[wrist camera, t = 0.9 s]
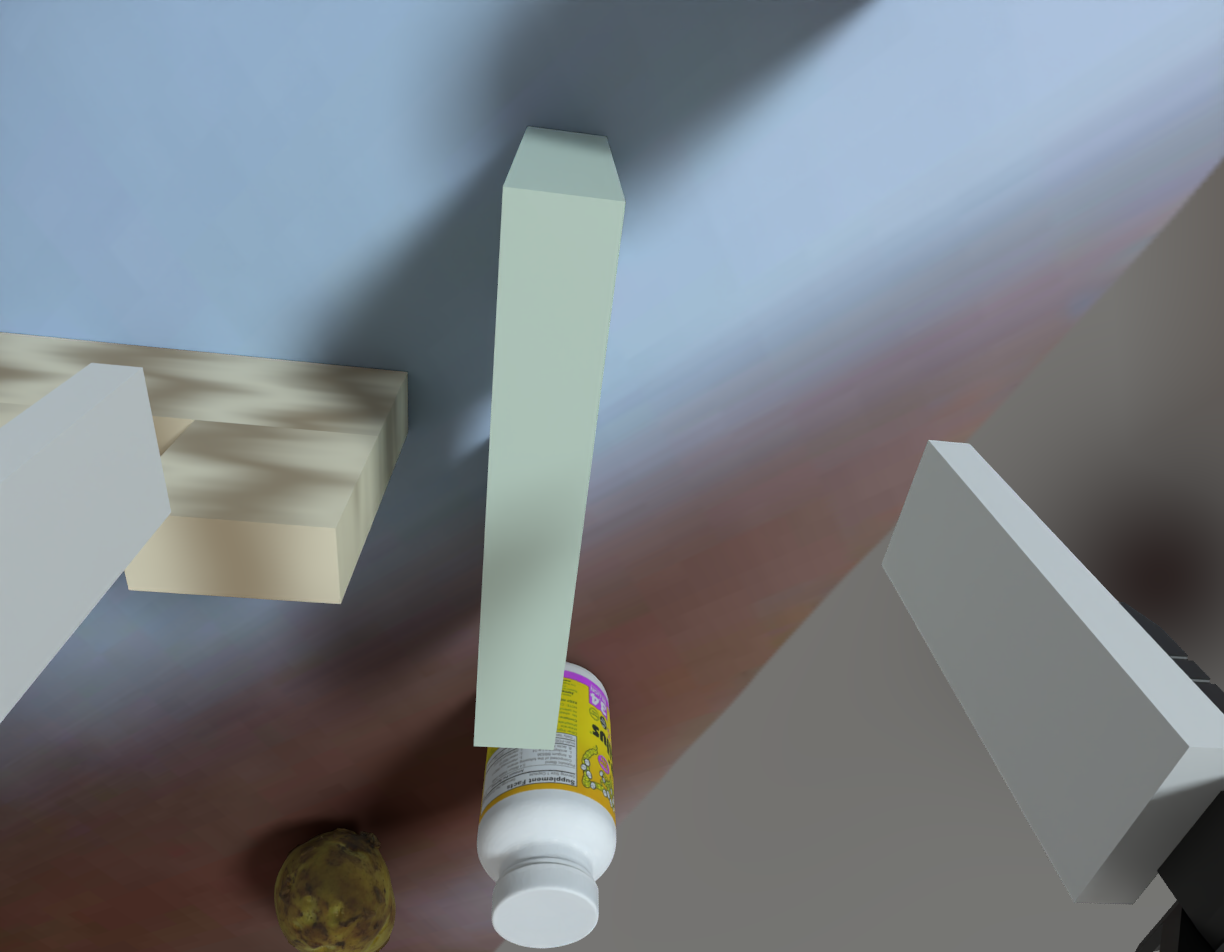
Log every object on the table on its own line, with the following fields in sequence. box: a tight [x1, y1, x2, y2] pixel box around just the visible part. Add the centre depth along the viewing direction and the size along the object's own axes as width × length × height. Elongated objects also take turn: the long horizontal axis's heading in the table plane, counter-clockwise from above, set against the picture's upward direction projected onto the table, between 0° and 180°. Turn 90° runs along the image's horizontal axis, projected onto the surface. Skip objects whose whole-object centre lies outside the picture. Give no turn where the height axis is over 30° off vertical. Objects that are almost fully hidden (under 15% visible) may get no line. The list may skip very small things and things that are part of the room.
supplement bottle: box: [477, 662, 616, 948], centre depth 39 cm, size 7×7×13 cm
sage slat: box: [474, 126, 626, 750], centre depth 29 cm, size 20×3×12 cm, turn 173°
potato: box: [274, 828, 395, 952], centre depth 47 cm, size 8×13×8 cm, turn 150°
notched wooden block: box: [0, 332, 408, 604], centre depth 28 cm, size 18×3×12 cm, turn 83°
